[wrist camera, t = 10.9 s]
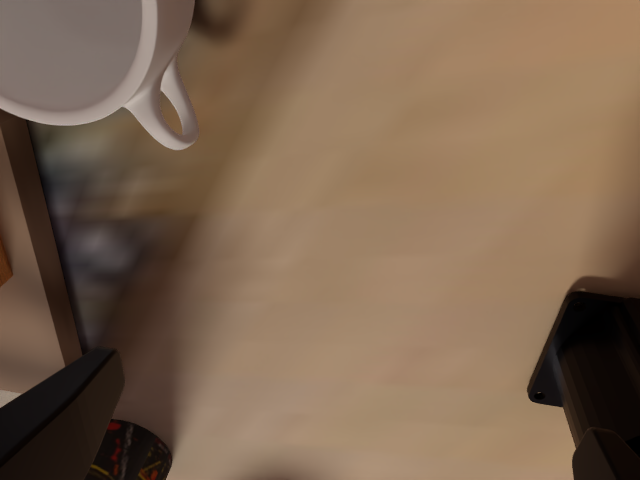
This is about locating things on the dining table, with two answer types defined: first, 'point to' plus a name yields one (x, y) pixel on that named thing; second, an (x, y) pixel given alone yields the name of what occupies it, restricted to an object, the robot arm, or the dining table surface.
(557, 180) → the dining table surface
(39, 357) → the board
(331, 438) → the dining table surface
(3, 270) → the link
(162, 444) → the deodorant
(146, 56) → the teacup
